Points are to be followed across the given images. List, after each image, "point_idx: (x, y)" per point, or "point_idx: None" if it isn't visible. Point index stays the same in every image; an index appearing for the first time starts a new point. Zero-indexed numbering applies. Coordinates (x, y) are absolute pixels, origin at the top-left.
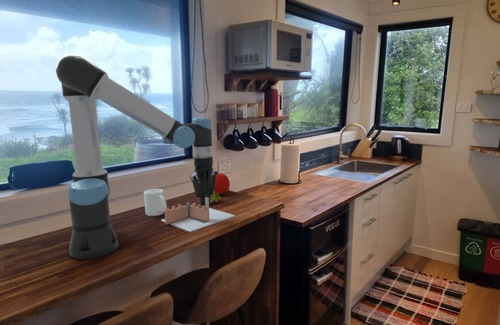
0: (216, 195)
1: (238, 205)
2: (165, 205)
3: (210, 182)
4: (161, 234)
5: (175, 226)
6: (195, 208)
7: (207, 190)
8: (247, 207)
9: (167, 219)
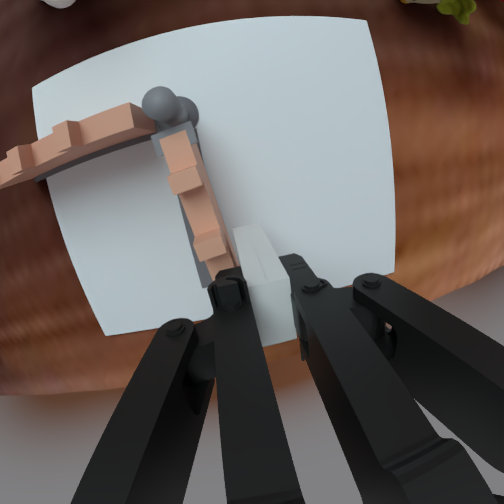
0: (462, 1)
1: (480, 139)
2: (52, 3)
3: (457, 387)
4: (8, 280)
5: (61, 222)
6: (186, 208)
7: (320, 387)
8: (483, 194)
9: (19, 181)
